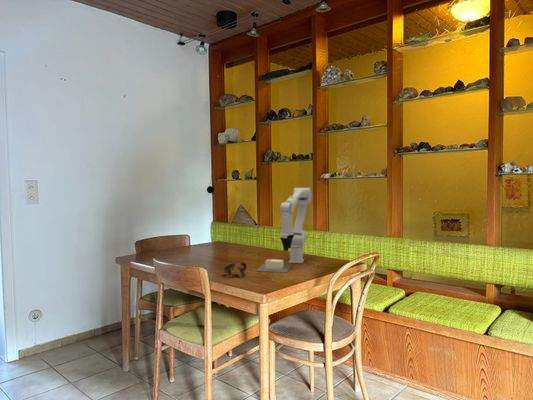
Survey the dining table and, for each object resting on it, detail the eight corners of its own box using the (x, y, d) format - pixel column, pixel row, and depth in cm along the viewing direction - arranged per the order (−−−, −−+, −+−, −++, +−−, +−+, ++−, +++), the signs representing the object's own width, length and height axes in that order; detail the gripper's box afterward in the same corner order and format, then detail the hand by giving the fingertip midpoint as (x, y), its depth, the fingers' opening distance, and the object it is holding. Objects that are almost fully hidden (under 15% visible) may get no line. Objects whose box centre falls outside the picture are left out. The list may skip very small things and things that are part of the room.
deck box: (283, 267, 215) (283, 259, 215) (282, 269, 210) (282, 261, 210) (267, 266, 217) (267, 259, 217) (265, 268, 212) (265, 260, 212)
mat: (262, 264, 223) (262, 264, 223) (291, 266, 220) (291, 265, 220) (255, 271, 208) (255, 270, 208) (286, 272, 204) (286, 272, 204)
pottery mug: (236, 280, 191) (228, 265, 192) (226, 285, 198) (218, 270, 199) (253, 270, 200) (245, 255, 200) (244, 275, 206) (236, 261, 207)
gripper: (282, 222, 225) (282, 247, 226) (277, 225, 211) (277, 251, 212) (294, 223, 223) (294, 247, 224) (290, 226, 209) (290, 252, 210)
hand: (287, 249), depth 218 cm, fingers open, 7 cm apart
